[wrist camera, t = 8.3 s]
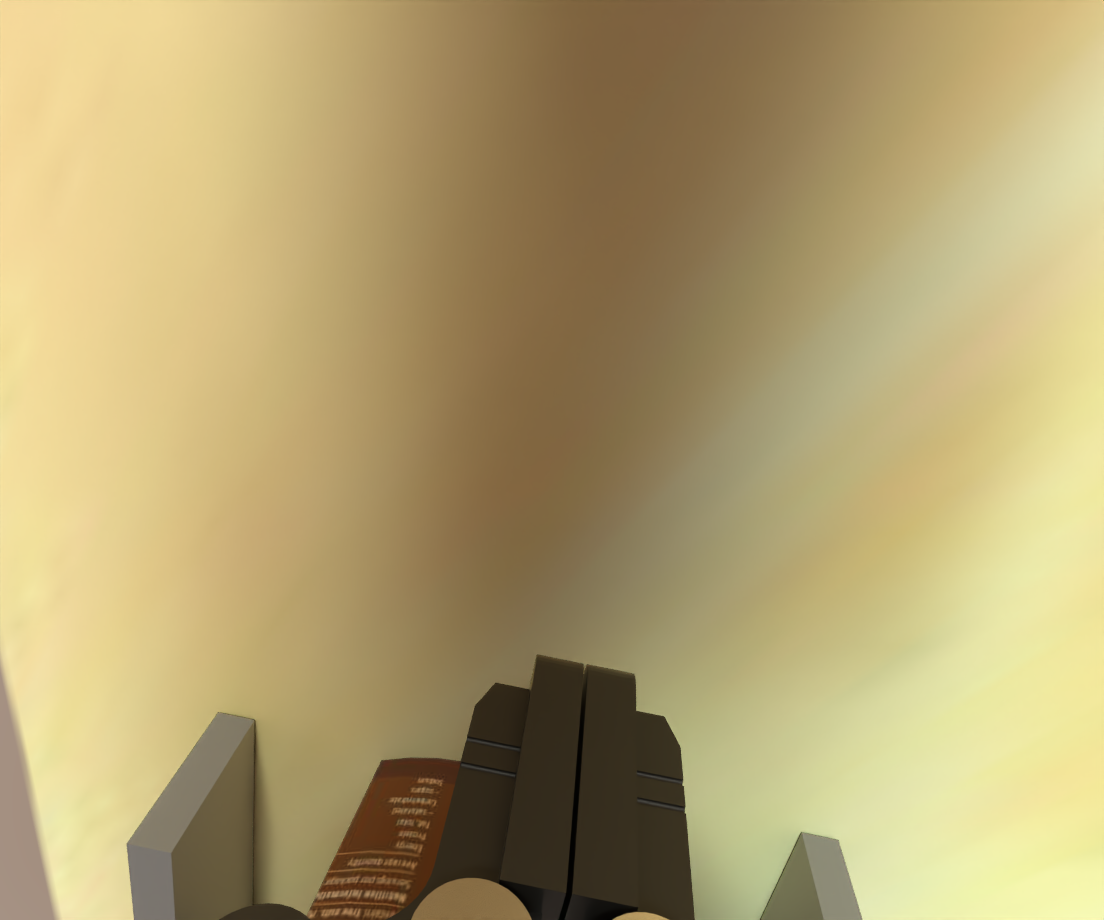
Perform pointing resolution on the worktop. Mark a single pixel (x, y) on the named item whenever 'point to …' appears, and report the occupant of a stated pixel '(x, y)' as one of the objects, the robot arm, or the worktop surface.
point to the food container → (389, 842)
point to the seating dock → (227, 844)
